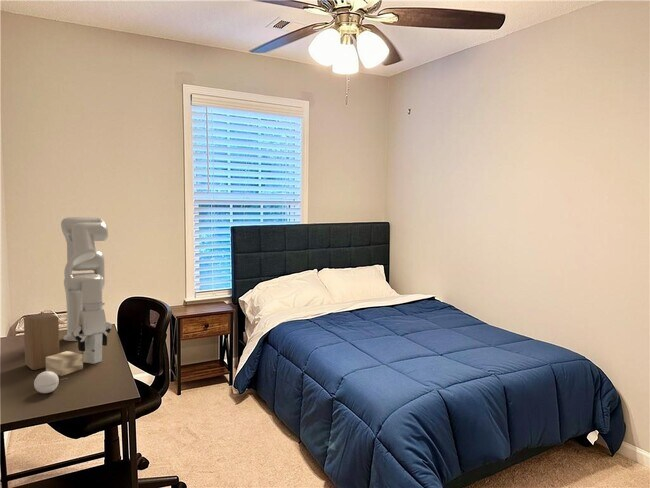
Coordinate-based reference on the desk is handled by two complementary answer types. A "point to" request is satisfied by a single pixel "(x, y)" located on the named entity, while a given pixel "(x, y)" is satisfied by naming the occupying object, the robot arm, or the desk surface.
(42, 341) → the block
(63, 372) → the beech block
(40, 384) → the white ellipsoid
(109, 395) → the desk surface
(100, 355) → the skincare box
